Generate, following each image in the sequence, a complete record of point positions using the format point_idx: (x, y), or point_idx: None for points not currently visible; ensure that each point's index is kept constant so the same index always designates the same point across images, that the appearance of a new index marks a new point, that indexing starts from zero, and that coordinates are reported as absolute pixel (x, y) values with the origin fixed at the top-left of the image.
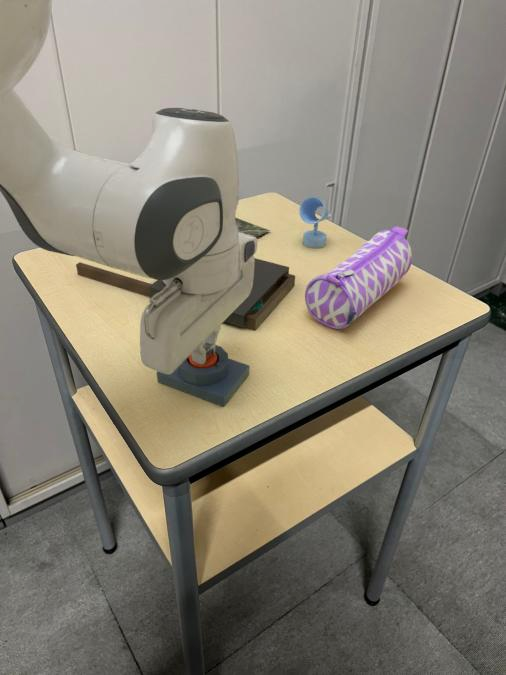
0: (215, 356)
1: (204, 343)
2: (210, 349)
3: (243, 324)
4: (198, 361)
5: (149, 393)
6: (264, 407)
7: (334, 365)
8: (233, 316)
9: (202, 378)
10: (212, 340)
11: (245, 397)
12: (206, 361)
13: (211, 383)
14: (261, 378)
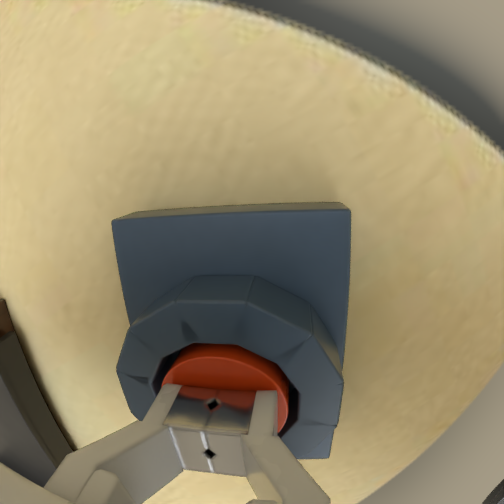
0: (184, 369)
1: (255, 500)
2: (196, 419)
3: (8, 336)
4: (276, 416)
5: (376, 422)
6: (256, 68)
7: (10, 44)
8: (9, 372)
9: (327, 346)
10: (150, 443)
11: (246, 156)
12: (239, 387)
13: (302, 301)
14: (126, 164)
